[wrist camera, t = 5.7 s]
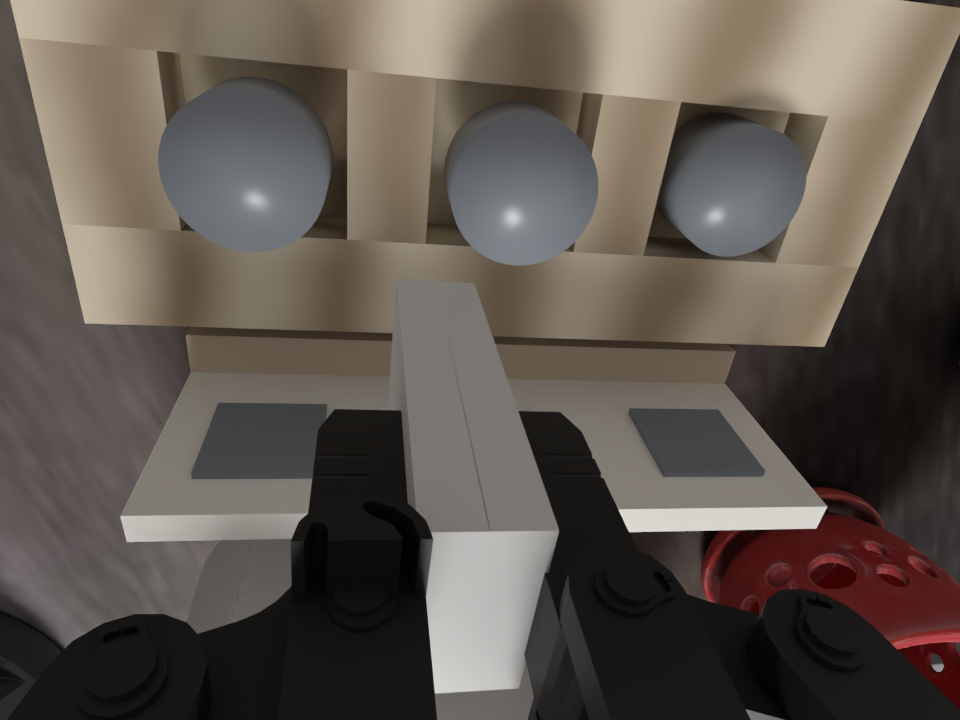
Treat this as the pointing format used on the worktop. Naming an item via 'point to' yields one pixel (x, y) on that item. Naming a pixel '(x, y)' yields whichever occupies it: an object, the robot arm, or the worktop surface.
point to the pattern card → (535, 387)
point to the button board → (433, 124)
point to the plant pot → (847, 579)
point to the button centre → (519, 183)
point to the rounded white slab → (267, 576)
